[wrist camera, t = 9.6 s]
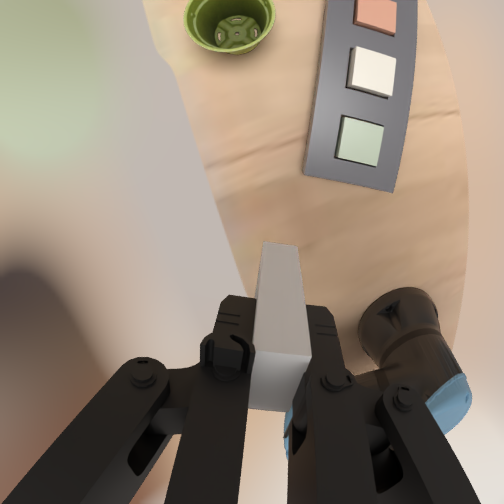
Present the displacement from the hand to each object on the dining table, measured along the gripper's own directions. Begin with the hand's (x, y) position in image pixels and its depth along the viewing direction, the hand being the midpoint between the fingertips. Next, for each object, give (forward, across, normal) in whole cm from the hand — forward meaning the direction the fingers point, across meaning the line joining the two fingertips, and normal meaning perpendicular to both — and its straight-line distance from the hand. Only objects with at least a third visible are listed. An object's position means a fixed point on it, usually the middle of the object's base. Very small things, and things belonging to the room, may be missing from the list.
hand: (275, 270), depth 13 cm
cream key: (+24, -9, -15) cm, 30 cm away
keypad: (+26, -9, -15) cm, 32 cm away
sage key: (+25, -9, -6) cm, 28 cm away
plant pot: (+27, +7, -18) cm, 33 cm away
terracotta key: (+25, -9, -24) cm, 36 cm away
